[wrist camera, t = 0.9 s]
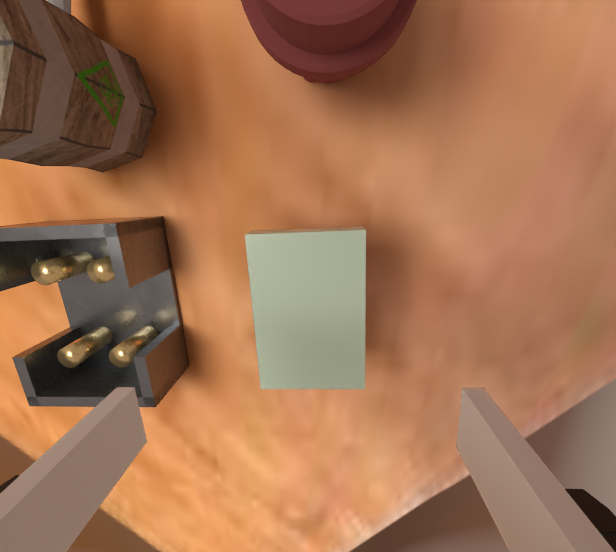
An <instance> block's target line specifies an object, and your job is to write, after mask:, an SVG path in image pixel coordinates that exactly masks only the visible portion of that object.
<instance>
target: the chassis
mask: <svg viewBox="0 0 616 552" xmlns="http://www.w3.org/2000/svg"><path fill="white" fill-rule="evenodd" d="M33 281H37V282H38V283H40V284H42V285H49V284H52V283H55V282H58V285H59V289H60V292H61V296H62V299H63V303H64V306H65V310H66V313H67V316H68V320H69V323H70V328H68V329H66V330H64V331H62V332H60V333H58V334H56V335H54V336H52V337H50V338H48V339H47V340H45V341H43V342H41V343H39V344H37V345H35V346H33V347H31V348H29V349H27V350H25V351H24V352H22V353H20V354H18V355H16V356H14V357H12V358H13V361H14V364H15V367H16V369H17V372H18V375H19V378H20V381H21V383H22V386H23V389H24V392H25V395H26V397H27V400H28V403H29V406H77V407H96V406H97V405H98V404H99V403H100V402H101V401H103V400H104V399H105V398H106V397H107V396H108V395H109V394H110V393H111V392H112V391H114V390H115V389H116V388H117V387H135V392H136V396H137V400H138V405H139V407H156V406H157V405H158V404H159V402H160V401H161V400H162V399H163V397H164V396H165V395H166V394H167V392H168V391H169V390H170V389H171V388H172V386H173V385H174V384H175V383H176V381H177V380H178V379H179V378H180V376H181V375H182V374H183V373H184V371H185V370H186V369H187V368H188V366H189V361H188V355H187V350H186V344H185V338H184V333H183V327H182V321H181V316H180V310H179V304H178V299H177V293H176V287H175V282H174V276H173V270H172V265H171V259H170V253H169V248H168V242H167V236H166V231H165V225H164V219H163V216H161V217H138V218H116V219H93V220H71V221H48V222H37V223H27V224H17V225H7V226H0V291H3V290H6V289H10V288H13V287H16V286H20V285H23V284H26V283H30V282H33Z"/></svg>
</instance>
